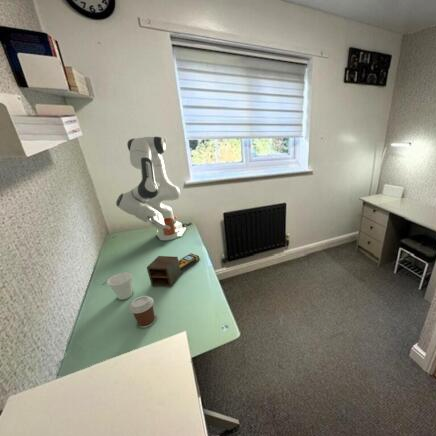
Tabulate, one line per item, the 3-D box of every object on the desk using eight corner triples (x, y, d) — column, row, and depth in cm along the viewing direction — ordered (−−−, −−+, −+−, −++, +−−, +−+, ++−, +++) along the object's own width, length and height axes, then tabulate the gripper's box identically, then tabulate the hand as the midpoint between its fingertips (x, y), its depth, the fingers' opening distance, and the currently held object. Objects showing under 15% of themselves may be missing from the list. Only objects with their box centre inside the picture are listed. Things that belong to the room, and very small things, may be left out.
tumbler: (167, 230, 150) (164, 217, 146) (177, 231, 150) (174, 218, 146) (161, 235, 144) (158, 222, 140) (172, 235, 144) (169, 222, 140)
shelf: (162, 273, 138) (158, 255, 133) (181, 274, 137) (177, 256, 132) (151, 285, 128) (146, 267, 123) (171, 286, 127) (166, 268, 122)
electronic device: (170, 269, 141) (168, 265, 140) (190, 256, 154) (189, 252, 153) (179, 273, 138) (178, 268, 136) (200, 260, 151) (199, 255, 149)
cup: (141, 290, 124) (136, 272, 120) (127, 303, 115) (121, 285, 111) (123, 288, 125) (117, 271, 121) (108, 302, 116) (101, 284, 112)
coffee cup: (147, 332, 100) (140, 311, 95) (130, 327, 103) (122, 306, 98) (163, 316, 108) (157, 296, 104) (147, 312, 111) (140, 292, 106)
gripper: (152, 216, 129) (174, 228, 137) (150, 204, 145) (170, 216, 153) (144, 225, 128) (167, 236, 137) (143, 212, 144) (164, 223, 153)
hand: (169, 225), depth 145 cm, fingers closed on tumbler, 6 cm apart
